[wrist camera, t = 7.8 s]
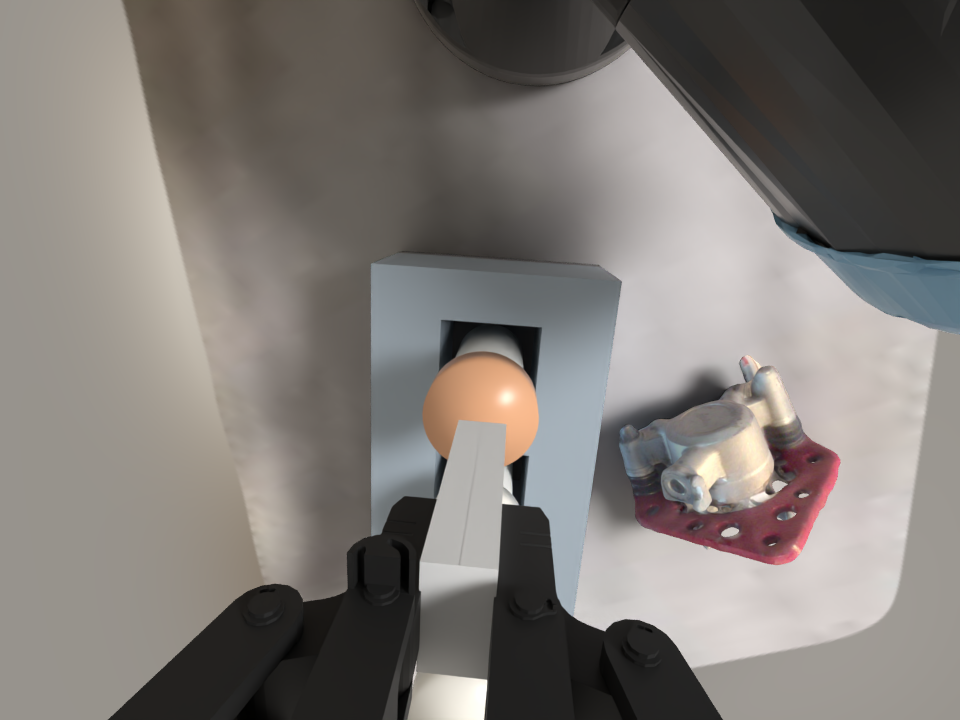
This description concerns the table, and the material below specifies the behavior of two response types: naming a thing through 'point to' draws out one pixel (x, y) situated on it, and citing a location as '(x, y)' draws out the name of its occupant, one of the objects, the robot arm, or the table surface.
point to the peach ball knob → (483, 392)
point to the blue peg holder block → (546, 359)
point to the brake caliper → (732, 471)
